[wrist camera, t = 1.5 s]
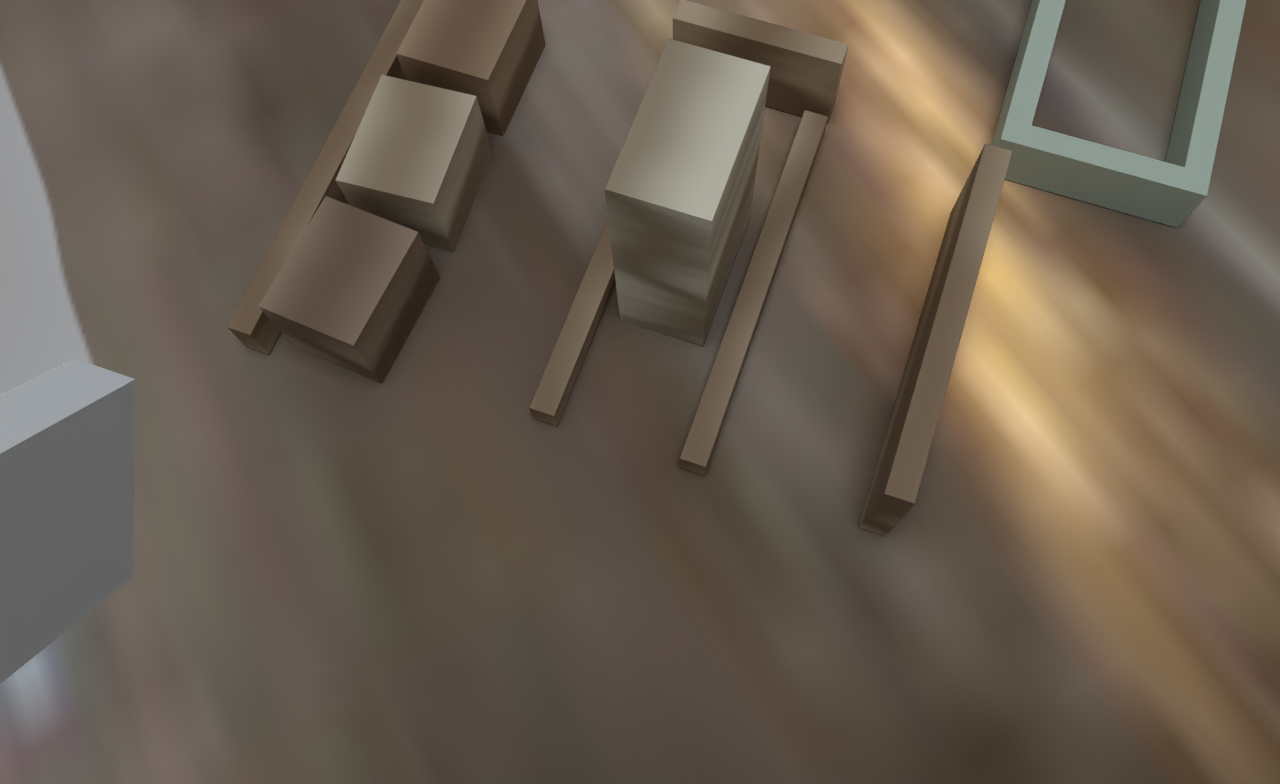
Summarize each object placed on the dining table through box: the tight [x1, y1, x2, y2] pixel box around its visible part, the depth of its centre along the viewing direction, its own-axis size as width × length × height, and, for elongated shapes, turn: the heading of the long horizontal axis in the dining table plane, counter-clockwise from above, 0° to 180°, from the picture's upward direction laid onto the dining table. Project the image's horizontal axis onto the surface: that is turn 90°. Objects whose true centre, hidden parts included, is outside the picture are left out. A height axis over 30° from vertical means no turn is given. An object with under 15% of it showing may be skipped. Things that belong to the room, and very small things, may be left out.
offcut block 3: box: [259, 196, 440, 383], centre depth 40 cm, size 4×5×4 cm
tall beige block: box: [605, 38, 771, 347], centre depth 38 cm, size 4×6×10 cm, turn 160°
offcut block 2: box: [336, 75, 492, 252], centre depth 42 cm, size 4×5×4 cm
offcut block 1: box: [396, 0, 545, 136], centre depth 44 cm, size 4×5×4 cm
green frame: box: [991, 0, 1246, 228], centre depth 44 cm, size 8×17×2 cm, turn 160°
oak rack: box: [227, 0, 1012, 536], centre depth 40 cm, size 26×18×5 cm
